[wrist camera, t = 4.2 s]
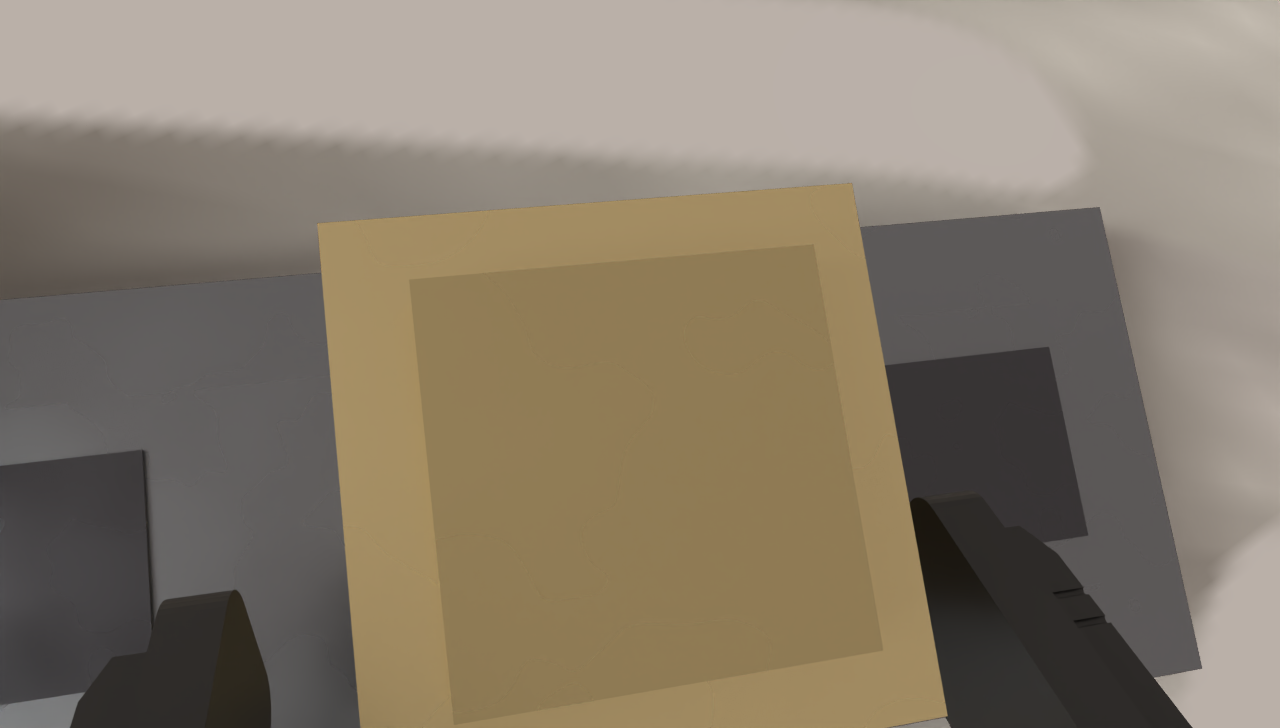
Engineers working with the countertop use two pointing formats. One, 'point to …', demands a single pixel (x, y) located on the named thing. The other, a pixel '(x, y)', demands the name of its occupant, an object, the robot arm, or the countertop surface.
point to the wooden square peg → (623, 468)
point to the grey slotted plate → (309, 479)
